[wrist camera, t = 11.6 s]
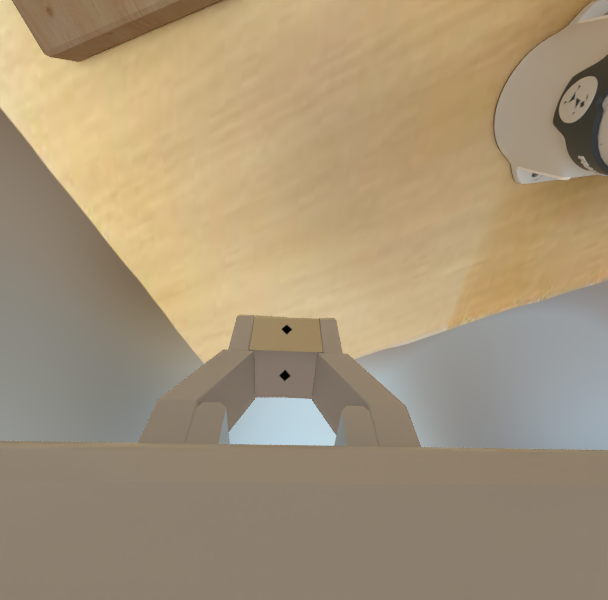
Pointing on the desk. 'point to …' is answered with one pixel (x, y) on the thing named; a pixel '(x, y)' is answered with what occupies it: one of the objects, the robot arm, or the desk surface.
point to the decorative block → (97, 22)
